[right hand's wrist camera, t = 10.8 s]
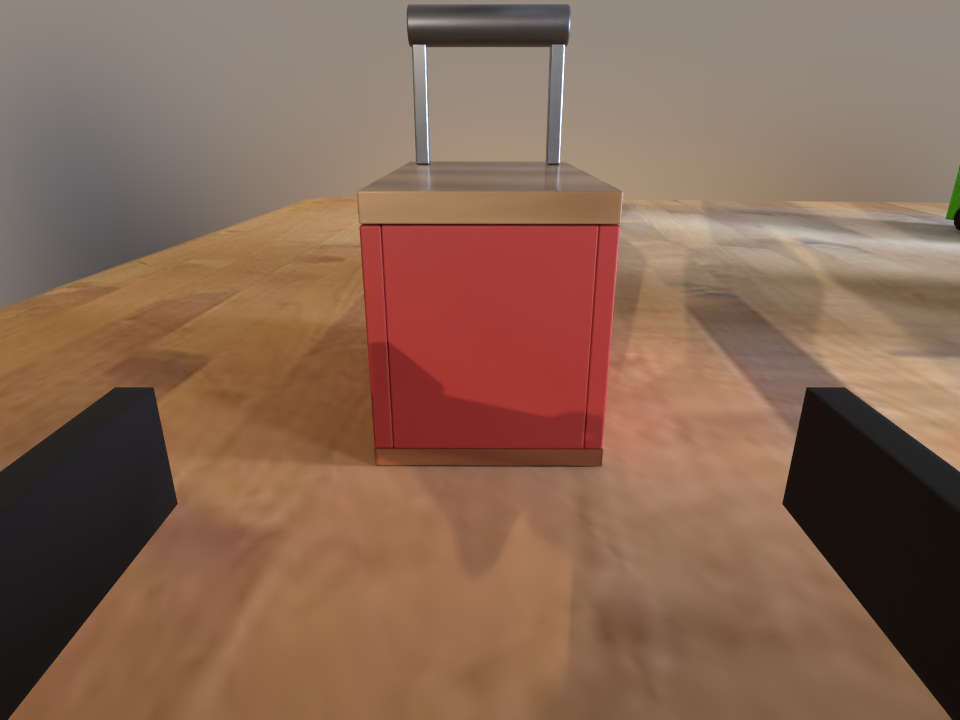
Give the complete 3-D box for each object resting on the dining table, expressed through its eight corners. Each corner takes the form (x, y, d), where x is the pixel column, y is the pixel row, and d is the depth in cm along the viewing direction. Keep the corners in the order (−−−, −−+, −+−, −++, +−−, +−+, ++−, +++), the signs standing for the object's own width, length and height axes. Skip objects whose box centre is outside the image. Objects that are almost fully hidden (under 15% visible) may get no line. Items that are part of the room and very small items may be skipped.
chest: (415, 337, 39) (409, 183, 36) (558, 338, 39) (565, 183, 36) (375, 465, 25) (358, 225, 21) (601, 466, 25) (621, 226, 21)
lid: (410, 181, 36) (404, 13, 33) (564, 181, 36) (572, 12, 33) (358, 224, 21) (338, -76, 18) (621, 224, 21) (645, -77, 18)
